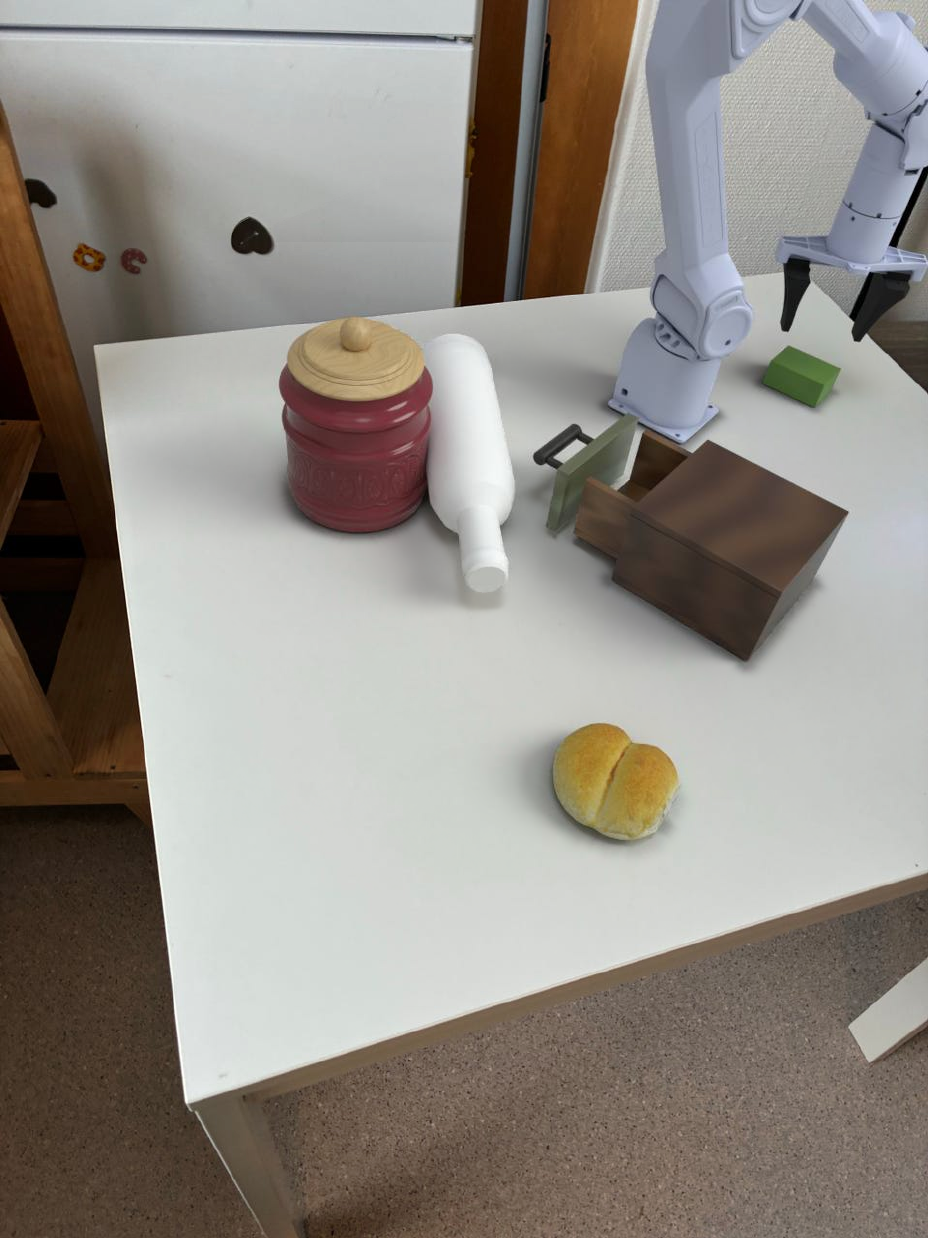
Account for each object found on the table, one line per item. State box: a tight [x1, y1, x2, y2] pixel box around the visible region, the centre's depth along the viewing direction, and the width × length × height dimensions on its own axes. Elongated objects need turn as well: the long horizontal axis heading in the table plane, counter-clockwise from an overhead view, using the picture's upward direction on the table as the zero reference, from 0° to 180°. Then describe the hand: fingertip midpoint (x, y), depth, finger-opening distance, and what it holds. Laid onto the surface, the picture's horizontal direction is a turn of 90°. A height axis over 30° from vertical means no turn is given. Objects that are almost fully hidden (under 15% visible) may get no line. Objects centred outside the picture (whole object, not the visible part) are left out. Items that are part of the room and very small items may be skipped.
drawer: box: [532, 413, 693, 560], centre depth 81 cm, size 17×11×7 cm
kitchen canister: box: [278, 316, 433, 533], centre depth 78 cm, size 13×13×18 cm
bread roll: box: [552, 722, 682, 841], centre depth 64 cm, size 8×9×4 cm
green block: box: [762, 345, 842, 408], centre depth 101 cm, size 6×4×3 cm
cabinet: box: [611, 439, 850, 662], centre depth 77 cm, size 14×13×9 cm
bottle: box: [421, 333, 517, 593], centre depth 83 cm, size 8×8×30 cm
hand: (819, 331), depth 97 cm, fingers open, 7 cm apart
